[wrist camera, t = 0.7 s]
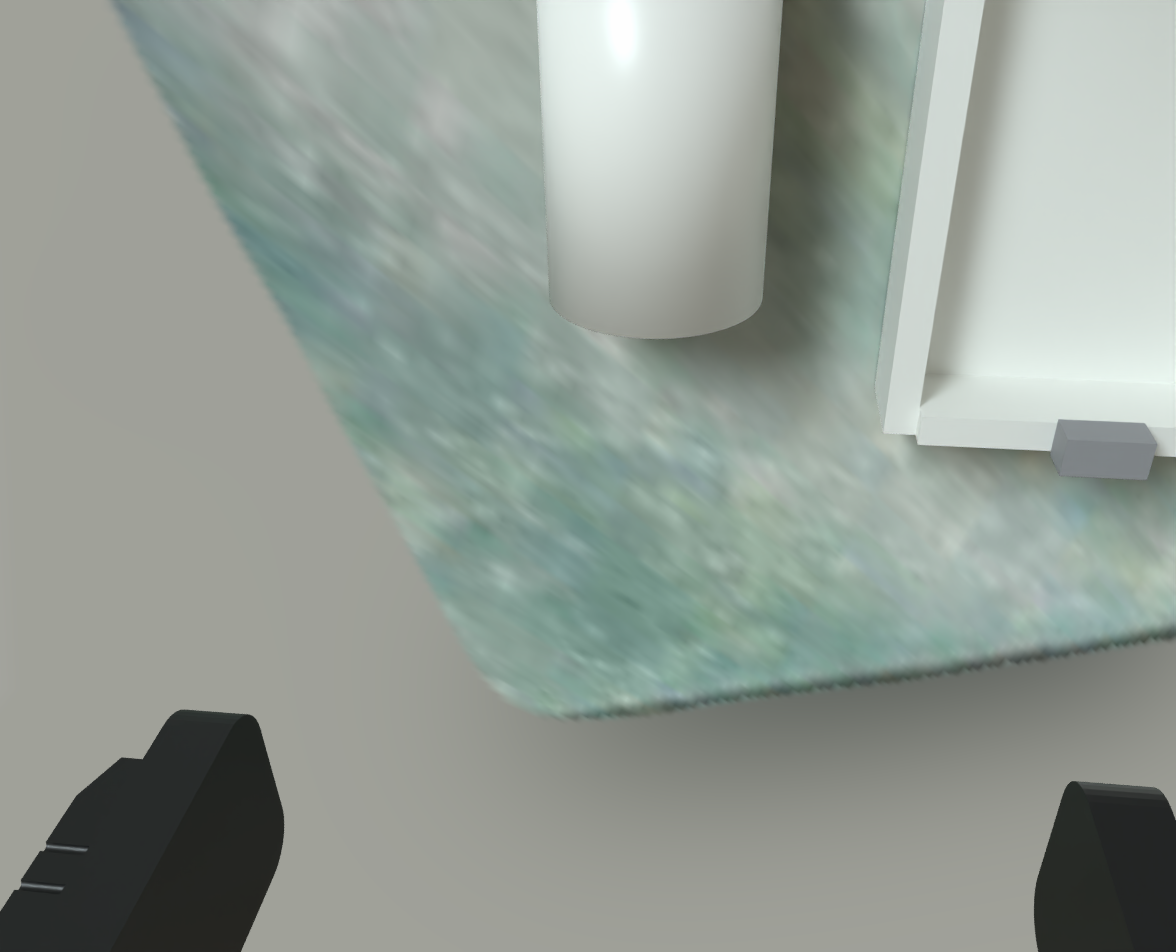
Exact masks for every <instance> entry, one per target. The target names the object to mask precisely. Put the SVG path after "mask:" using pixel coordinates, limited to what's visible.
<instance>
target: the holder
mask: <svg viewBox="0 0 1176 952" xmlns="http://www.w3.org/2000/svg"><path fill="white" fill-rule="evenodd" d="M875 394H876V399H877V404H878V409H879V414H880V419H881V425H882V430H883V433H885V434H907V435H915V436H916V440H917V444H918V445H933V446H954V447H975V448H997V449H1018V450H1039V451H1051V452H1050V456H1051V458H1052V461H1053V463H1054V465H1055V467H1056V470H1057V472H1058V474H1059V476H1072V477H1092V478H1112V479H1132V480H1147V478H1148V475H1149V472H1150V468H1151V465H1152V461H1153V458H1154V456H1168V457H1176V0H926V5H925V12H924V20H923V27H922V35H921V42H920V50H919V57H918V65H917V72H916V80H915V87H914V95H913V103H912V110H911V118H910V125H909V133H908V140H907V148H906V155H905V163H904V170H903V178H902V185H901V193H900V200H899V208H898V215H897V223H896V230H895V238H894V245H893V253H892V260H891V268H890V275H889V283H888V290H887V298H886V305H885V313H884V320H883V328H882V335H881V343H880V350H879V358H878V365H877V373H876V380H875Z"/></svg>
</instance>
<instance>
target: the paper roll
mask: <svg viewBox="0 0 1176 952" xmlns="http://www.w3.org/2000/svg"><path fill="white" fill-rule="evenodd" d="M782 8H783V0H537V21H538V44H539V67H540V90H541V114H542V137H543V160H544V183H545V207H546V230H547V253H548V276H549V299H550V303H551V305H552V307H553V309H554V310H555V311H556V312H557V313H558V314H559V315H560V316H562V317H563V318H564V319H566V320H568V321H569V322H571V323H573V324H575V325H578V326H580V327H583V328H585V329H588V330H592V331H595V332H599V333H603V334H608V335H613V336H620V337H628V338H638V339H673V338H685V337H693V336H699V335H704V334H709V333H714V332H717V331H721V330H724V329H727V328H730V327H732V326H735V325H737V324H739V323H741V322H743V321H745V320H746V319H748V318H749V317H751V316H752V315H753V314H754V313H755V312H756V311H757V310H758V309H759V307H760V306H761V303H762V300H763V285H764V271H765V256H766V242H767V227H768V212H769V198H770V183H771V168H772V154H773V139H774V125H775V110H776V95H777V81H778V66H779V51H780V37H781V22H782Z"/></svg>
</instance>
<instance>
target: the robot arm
mask: <svg viewBox="0 0 1176 952" xmlns="http://www.w3.org/2000/svg"><path fill="white" fill-rule="evenodd" d="M283 837H284V815H283V809H282V805H281V801H280V798H279V794H278V791H277V787H276V783H275V780H274V777H273V773H272V769H271V766H270V762H269V758H268V755H267V751H266V747H265V744H264V740H263V737H262V733H261V730H260V727H259V724H258V722H257V720H256V719H255V718H254V717H253V716H251V715H248V714H235V713H222V712H208V711H196V710H179V711H177V712H175V713H174V714H173V715H171V716H170V718H169V719H168V720H167V721H166V723H165V724H164V726H163V727H162V729H161V730H160V732H159V734H158V735H157V737H156V739H155V740H154V742H153V743H152V745H151V747H150V749H149V750H148V752H147V753H146V755H145V756H144V758H143V759H132V758H120V759H119V760H118V761H117V762H116V763H115V764H113V765H112V766H111V767H110V768H109V769H107V770H106V771H105V772H104V773H103V774H101V775H100V776H99V777H98V778H97V779H96V780H94V781H93V782H92V783H91V784H90V785H89V786H87V787H86V788H85V789H84V790H83V791H81V792H80V793H79V794H78V795H77V796H76V797H75V799H74V800H73V802H72V803H71V805H70V806H69V808H68V809H67V811H66V812H65V814H64V815H63V817H62V818H61V820H60V822H59V823H58V824H57V826H56V828H55V829H54V831H53V832H52V834H51V835H50V837H49V838H48V840H47V841H46V849H45V850H44V851H40V852H39V854H38V855H37V857H36V858H35V860H34V861H33V862H32V864H31V866H30V867H29V869H28V870H27V872H26V873H25V875H24V876H23V878H22V879H21V887H20V889H19V890H14V891H13V893H12V894H11V896H10V897H9V899H8V901H7V902H6V904H5V905H4V907H3V908H2V910H1V911H0V952H241V950H242V948H243V945H244V943H245V941H246V938H247V936H248V934H249V931H250V929H251V927H252V925H253V922H254V920H255V918H256V916H257V913H258V911H259V909H260V906H261V904H262V902H263V899H264V897H265V895H266V893H267V890H268V888H269V886H270V883H271V881H272V879H273V876H274V874H275V871H276V869H277V866H278V862H279V859H280V855H281V850H282V845H283ZM1034 923H1035V934H1036V941H1037V947H1038V952H1176V820H1175V817H1174V815H1173V812H1172V809H1171V807H1170V805H1169V803H1168V800H1167V799H1166V797H1165V796H1164V794H1163V793H1162V792H1161V791H1160V790H1159V789H1157V788H1153V787H1142V786H1129V785H1116V784H1103V783H1090V782H1076V781H1072V782H1070V783H1069V784H1068V785H1067V787H1066V789H1065V791H1064V793H1063V796H1062V799H1061V803H1060V806H1059V809H1058V813H1057V816H1056V819H1055V822H1054V826H1053V829H1052V832H1051V836H1050V839H1049V842H1048V845H1047V848H1046V852H1045V855H1044V859H1043V862H1042V865H1041V869H1040V871H1039V875H1038V878H1037V882H1036V888H1035V897H1034Z"/></svg>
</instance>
